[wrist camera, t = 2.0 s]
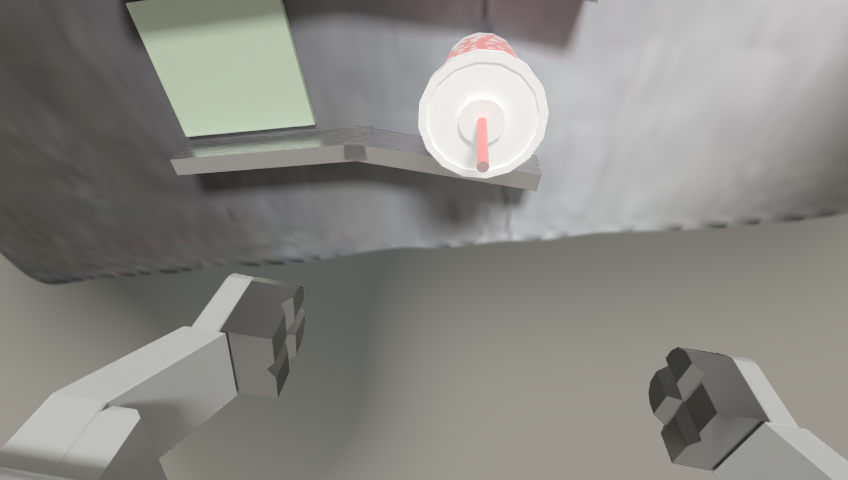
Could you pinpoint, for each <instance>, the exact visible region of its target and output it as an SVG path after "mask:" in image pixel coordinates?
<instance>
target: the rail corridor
mask: <svg viewBox="0 0 848 480" xmlns="http://www.w3.org/2000/svg"><path fill="white" fill-rule="evenodd" d="M584 1H590V2H596V3H597V1H598V0H584ZM170 160H171V162H172V165H173V167H174V169H175V171H176V173H177V175H187V174H199V173H212V172H224V171H237V170H249V169H262V168H274V167H287V166H299V165H312V164H325V163H337V162H350V161H359V162H365V163H371V164H377V165H383V166H389V167H395V168H401V169H407V170H413V171H419V172H425V173H431V174H437V175H443V176H449V177H455V178H461V179H467V180H473V181H479V182H485V183H491V184H497V185H503V186H509V187H515V188H521V189H527V190H533V191H536V190H537V187H538V184H539V181H540V178H541V171H540V168H539V164H538V160H537V156H535V155H531V157H530V158H529V159H528V160H526V161H525V162H523V163H522V164H521V165H519V166H518V167H516V168H515V169H513V170H512V171H511V172H509V173H505V174H501V175H497V176H494V177H490V178H476V177H464V176H461V175H459V174H457V173H455V172H453V171H451V170H449V169H447V168H445V167H442V166H441V165H440V163H439V162H438V161H437V160H436V159H435V158H434V157H433V156H432V155H431V154H430V153H429V152H428V150H427V149H426V147H425V144H424V141H423V139H422V137H421V136H415V135H409V134H402V133H396V132H390V131H384V130H378V129H373V126H370V127H360V126H354V127H353V128H348V129H338V130H327V131H316V132H305V133H294V134H283V135H273V136H262V137H251V138H240V139H229V140H218V141H208V142H197V143H192V144H191V145H189V146H188V147H187V148H185V149H184V150H183V151H181V152H180V153H179V154H177V155H176V156H175V157H173V158H172V159H170Z"/></svg>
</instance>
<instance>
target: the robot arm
mask: <svg viewBox="0 0 848 480" xmlns="http://www.w3.org/2000/svg"><path fill="white" fill-rule="evenodd" d="M303 301H304V288H303V287H302V286H301V285H296V284H291V283H286V282H280V281H275V280H269V279H264V278H259V277H251V276H246V275H241V274H236V273H233V274H232V275H230V276H228V277H227V278H226V280H225V281H224V282H223V284H222V285H221V287H220V288H219V290H218V291H217V292H216V293H215V295H214V296H213V298H212V299H211V300H210V302H209V303H208V305H207V306H206V307H205V309H204V310H203V312H202V313H201V314H200V316H199V317H198V318H197V320H196V321H195V322H194V324H193V325H192V327H186V326H184V327H181V328H179V329H177V330H175V331H174V332H172V333H170V334H168V335H166V336H164V337H162V338H160V339H158V340H156V341H154V342H152V343H150V344H148V345H146V346H144V347H142V348H140V349H138V350H136V351H134V352H132V353H130V354H128V355H127V356H125V357H123V358H121V359H119V360H117V361H115V362H113V363H111V364H109V365H107V366H105V367H103V368H101V369H100V370H97V371H95V372H93V373H91V374H89V375H87V376H85V377H83V378H82V379H80V380H78V381H76V382H74V383H72V384H70V385H68V386H66V387H64V388H62V389H60V390H58V391H56V392H54V393H52V395H51V396H50V397H49V398H48V399H47V400H46V401H45V402H44V403H43V404H42V405H41V406H40V408H39V409H38V410H37V411H36V412H35V413H34V414H33V415H32V416H31V417H30V418H29V420H28V421H27V422H26V423H25V424H24V425H23V426H22V427H21V428H20V429H19V430H18V431H17V433H16V434H15V435H14V436H13V437H12V438H11V439H10V440H9V441H8V442H7V443H6V445H4V447H3V448H2V449H1V450H0V480H167V478H166V475H165V473H164V471H163V468H162V466H161V464H160V461H159V458H160V457H161V456H163V455H164V454H165V453H167V452H168V451H169V450H170V449H171V448H173V447H174V446H175V445H176V444H177V443H179V442H180V441H181V440H183V439H184V438H185V437H186V436H187V435H189V434H190V433H191V432H192V431H194V430H195V429H196V428H197V427H199V425H201V424H202V423H204V422H205V421H206V420H207V419H208V418H210V417H211V416H212V415H213V414H215V413H216V412H217V411H218V410H220V409H221V408H222V407H223V406H224V405H226V404H227V403H228V402H229V401H231V400H232V399H233V398H234V397H235V396H237V393H244V394H252V395H259V396H266V397H273V398H278V397H279V394H280V392H281V390H282V388H283V385H284V383H285V381H286V378H287V376H288V374H289V360H290V359H291V358H293V357H294V356H296V354H297V352H298V350H299V347H300V345H301V341H302V337H303V333H304V326H305V313H304V312H303V311H302V310H301V308H300V307H301V305H302V303H303ZM666 361H667V364H668V366H667V367H665V368H663V369H661V370H658V371H657V372H656V373H655V375H654V376H653V378H652V380H651V382H650V388H649V400H650V405H651V408H652V411H653V413H654V415H655V416H656V417H657V418H658V419H659V420H660V421H661V422H662V423H663V424H664V426H663V429H662V431H661V435H662V438H663V440H664V443H665V446H666V448H667V451H668V454H669V456H670V459H671V462H672V463H674V464H680V465H685V466H690V467H695V468H700V469H705V470H711V471H714V472H713V474H714V476H715V477H716V478H717V479H718V480H848V461H847V460H846V459H845V458H843V457H842V456H841V455H839V454H838V453H837V452H836V451H834V450H833V449H832V448H831V447H829V446H828V445H827V444H825V443H824V442H823V441H821V440H820V439H819V438H818V437H816V436H815V435H814V434H813V433H811V432H810V431H809V430H807V429H804V428H799V427H798V425H797V424H796V422H795V421H794V419H793V418H792V416H791V415H790V413H789V412H788V410H787V409H786V407H785V406H784V404H783V403H782V401H781V400H780V398H779V397H778V395H777V393H776V392H775V391H774V389H773V387H772V386H771V384H770V383H769V381H768V380H767V378H766V377H765V375H764V374H763V372H762V371H761V369H760V368H759V366H758V365H757V364H756V363H755V362H754V361H753V360H751V359H750V358H746V357H738V356H732V355H726V354H725V355H722V354H719V353H712V352H705V351H699V350H693V349H686V348H680V347H677V348H675V349H673V350H672V351H671V352H670V353H669V354H668V356H667V357H666Z"/></svg>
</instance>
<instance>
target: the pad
mask: <svg viewBox="0 0 848 480" xmlns="http://www.w3.org/2000/svg"><path fill="white" fill-rule="evenodd" d="M126 6H127V8H128V10H129V12H130V14H131V17H132V19H133V21H134V23H135V25H136V28H137V30H138V32H139V34H140V36H141V39H142V41H143V43H144V45H145V47H146V50H147V52H148V54H149V56H150V58H151V60H152V63H153V65H154V67H155V69H156V71H157V74H158V76H159V78H160V80H161V82H162V85H163V87H164V89H165V91H166V93H167V96H168V98H169V100H170V102H171V104H172V107H173V109H174V111H175V113H176V115H177V117H178V120H179V122H180V124H181V126H182V128H183V131H184V133H185V135H186V137H191V136H202V135H212V134H223V133H233V132H244V131H254V130H265V129H275V128H286V127H296V126H307V125H315V124H316V119H315V116H314V112H313V108H312V105H311V101H310V97H309V94H308V90H307V87H306V83H305V79H304V76H303V72H302V68H301V65H300V61H299V57H298V54H297V50H296V47H295V43H294V39H293V36H292V32H291V28H290V25H289V21H288V18H287V14H286V10H285V7H284V3H283V0H143V1H136V2H129V3H126Z"/></svg>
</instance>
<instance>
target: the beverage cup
mask: <svg viewBox="0 0 848 480" xmlns="http://www.w3.org/2000/svg"><path fill="white" fill-rule="evenodd" d="M548 114H549V112H548V107H547V102H546V97H545V92H544V88H543V86H542V84H541V83H540V81H539V80H538V79H537V77H536V76H535V75H534V73H533V72H532V71H531V69H530V68H529V66H528V65H527V64H526V63H525V62H523V61H521V60H519V59H518V57H517V55H516V54H515V52H514V51H513V50H512V48H511V47H510V46H509V44H508V43H507V41H506V40H504V39H502V38H501V37H499V36H497V35H495V34H493V33H482V32H477V33H475V34H472V35H469V36H466V37H464V38H463V39H462V40H461V41H460V42H458V43H457V44H456V45H455V46H454V47H453V48H452V50H451V52H450V54H449V56H448V58H447V60H446V61H445V63H444V65H443V66H442V67H441V68H440V69H439V70H437V71H436V72H435V73H434V74H433V75H432V77H431V79H430V81H429V83H428V85H427V87H426V89H425V91H424V93H423V96H422V98H421V100H420V102H419V123H418V128H419V131H420V133H421V136H422V139H423V141H424V144H425V147H426V149H427V150H428V152H429V153H430V154H431V155H432V156H433V157H434V158H435V159H436V160H437V161H438V162H439V163H440V165H441V166H442V167H445V168H447V169H449V170H451V171H453V172H455V173H457V174H459V175H461V176H464V177H476V178H490V177H494V176H497V175H501V174H505V173H509V172H511V171H512V170H513V169H515V168H516V167H518V166H519V165H521V164H522V163H523V162H525V161H526V160H528V159H529V158H530V157H531V155H532V154H533V152H534V151H535V149H536V148H537V146H538V145H539V144H540V142H541V141H542V139H543V137H544V133H545V128H546V124H547V119H548Z"/></svg>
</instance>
